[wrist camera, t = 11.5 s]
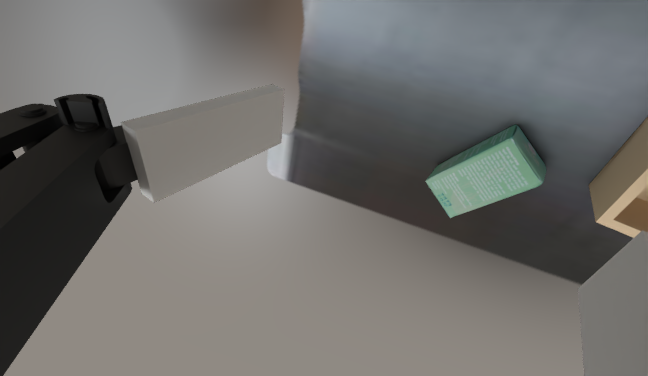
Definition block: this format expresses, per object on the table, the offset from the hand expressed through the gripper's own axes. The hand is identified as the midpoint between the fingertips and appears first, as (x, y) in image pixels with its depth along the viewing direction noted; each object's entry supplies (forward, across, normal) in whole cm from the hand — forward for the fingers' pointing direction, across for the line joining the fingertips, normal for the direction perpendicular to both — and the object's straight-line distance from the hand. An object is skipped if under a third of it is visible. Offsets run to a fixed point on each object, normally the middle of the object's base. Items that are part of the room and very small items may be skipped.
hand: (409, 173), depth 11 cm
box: (+39, +3, -15) cm, 42 cm away
